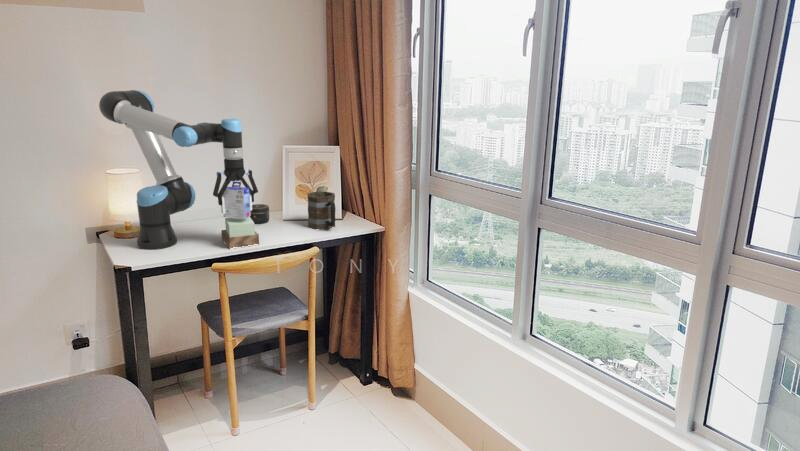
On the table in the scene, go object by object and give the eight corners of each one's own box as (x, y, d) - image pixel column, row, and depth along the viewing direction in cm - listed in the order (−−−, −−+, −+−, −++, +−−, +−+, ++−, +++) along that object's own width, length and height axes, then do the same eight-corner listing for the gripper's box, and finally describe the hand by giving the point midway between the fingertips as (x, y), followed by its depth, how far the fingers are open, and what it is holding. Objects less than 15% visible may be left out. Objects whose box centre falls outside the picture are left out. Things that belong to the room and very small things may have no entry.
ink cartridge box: (251, 216, 233) (249, 181, 229) (245, 219, 228) (243, 184, 224) (229, 214, 235) (227, 180, 231) (223, 217, 230) (220, 183, 226)
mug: (302, 224, 264) (301, 193, 260) (328, 220, 271) (327, 190, 267) (320, 234, 248) (319, 201, 244) (347, 230, 255) (347, 198, 251)
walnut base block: (230, 250, 226) (229, 238, 225) (222, 241, 237) (221, 230, 236) (259, 245, 232) (258, 234, 231) (250, 237, 243) (249, 226, 242)
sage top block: (229, 237, 226) (229, 225, 225) (225, 229, 237) (225, 218, 236) (254, 234, 230) (254, 223, 229) (249, 227, 241) (249, 216, 240)
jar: (245, 224, 262) (244, 208, 260) (251, 218, 272) (250, 203, 270) (266, 225, 262) (265, 209, 260) (272, 219, 271) (271, 204, 269)
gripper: (206, 161, 216) (210, 216, 222) (264, 157, 227) (267, 210, 233) (202, 158, 222) (206, 212, 228) (258, 154, 234) (261, 206, 240)
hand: (237, 211), depth 231 cm, fingers closed on ink cartridge box, 10 cm apart
